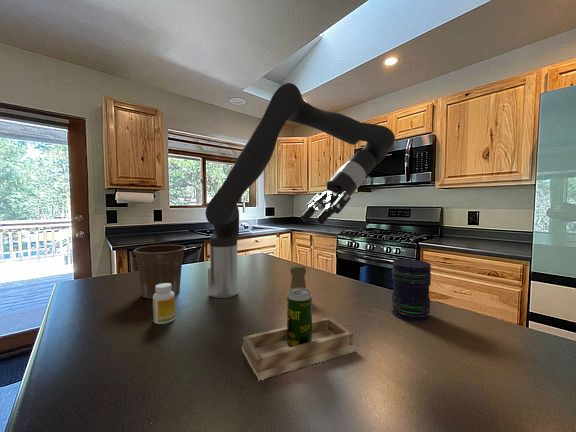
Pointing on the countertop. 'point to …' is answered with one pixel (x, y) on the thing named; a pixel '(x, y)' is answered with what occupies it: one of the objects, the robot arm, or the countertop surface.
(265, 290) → the countertop surface
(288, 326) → the beer can
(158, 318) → the supplement bottle
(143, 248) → the plant pot
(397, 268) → the storage jar
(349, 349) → the wooden rimmed tray
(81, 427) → the countertop surface
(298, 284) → the cork
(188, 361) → the countertop surface
